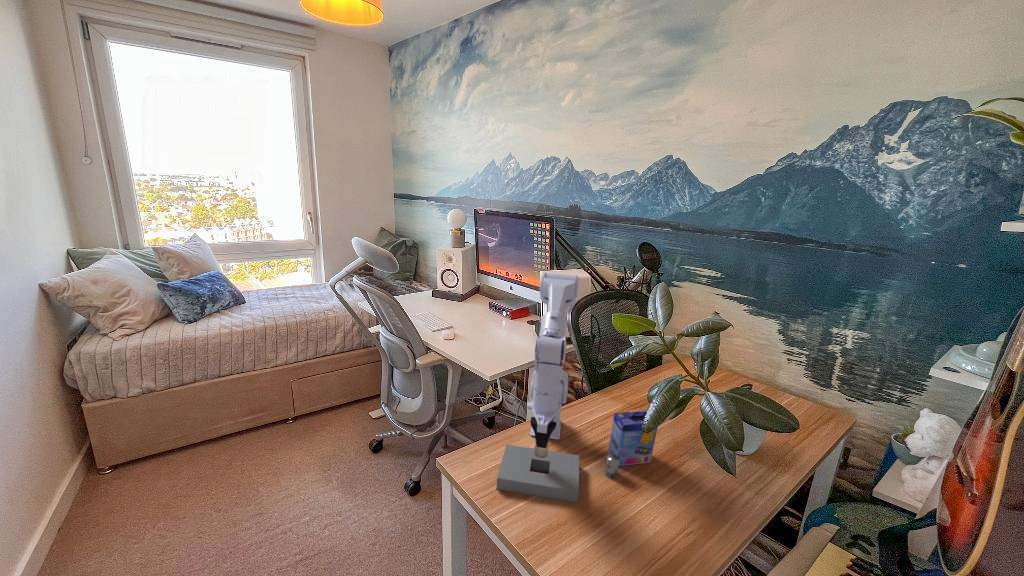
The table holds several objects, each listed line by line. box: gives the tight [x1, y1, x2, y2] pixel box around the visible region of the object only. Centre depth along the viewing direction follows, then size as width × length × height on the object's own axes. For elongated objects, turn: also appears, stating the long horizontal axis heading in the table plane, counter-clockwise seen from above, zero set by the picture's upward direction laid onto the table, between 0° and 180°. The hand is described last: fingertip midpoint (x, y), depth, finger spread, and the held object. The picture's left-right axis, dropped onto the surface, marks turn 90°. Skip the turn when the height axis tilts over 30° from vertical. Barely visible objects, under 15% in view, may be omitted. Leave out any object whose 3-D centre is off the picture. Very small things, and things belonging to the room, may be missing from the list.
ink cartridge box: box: [608, 409, 659, 467], centre depth 103 cm, size 10×6×14 cm, turn 103°
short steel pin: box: [604, 453, 620, 480], centre depth 98 cm, size 3×3×4 cm
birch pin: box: [534, 440, 550, 458], centre depth 94 cm, size 3×3×8 cm
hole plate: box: [496, 444, 580, 504], centre depth 96 cm, size 12×18×3 cm, turn 81°
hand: (542, 441), depth 94 cm, fingers closed on birch pin, 3 cm apart
